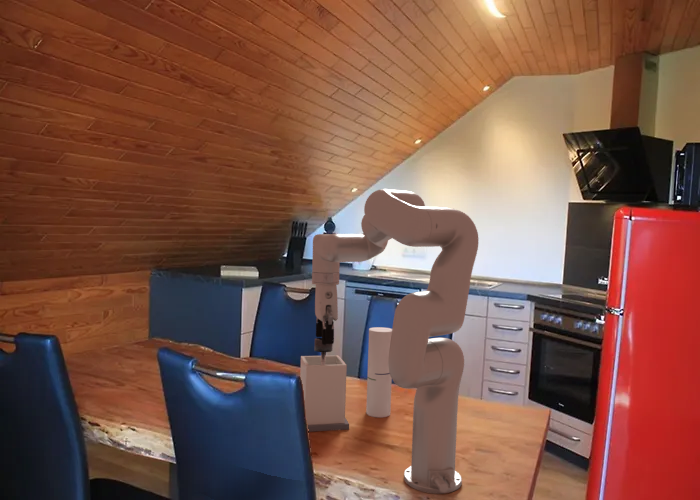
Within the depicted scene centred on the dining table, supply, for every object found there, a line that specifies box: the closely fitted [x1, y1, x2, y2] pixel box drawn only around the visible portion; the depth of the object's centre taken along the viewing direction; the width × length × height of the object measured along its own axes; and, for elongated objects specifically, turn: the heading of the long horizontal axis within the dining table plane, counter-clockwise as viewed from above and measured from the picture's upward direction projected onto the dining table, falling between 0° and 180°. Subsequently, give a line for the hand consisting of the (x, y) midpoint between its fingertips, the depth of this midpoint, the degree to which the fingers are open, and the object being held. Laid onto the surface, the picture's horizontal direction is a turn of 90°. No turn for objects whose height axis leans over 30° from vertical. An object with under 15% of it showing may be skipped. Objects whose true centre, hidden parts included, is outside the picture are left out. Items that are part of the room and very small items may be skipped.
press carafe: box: [299, 354, 350, 432], centre depth 158 cm, size 13×13×18 cm
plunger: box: [314, 337, 334, 365], centre depth 157 cm, size 9×9×22 cm
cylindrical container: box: [365, 326, 393, 418], centre depth 166 cm, size 7×7×25 cm
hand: (324, 340), depth 157 cm, fingers open, 9 cm apart
